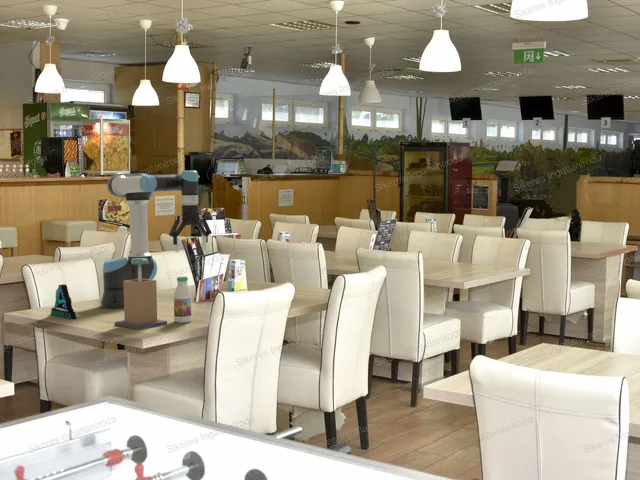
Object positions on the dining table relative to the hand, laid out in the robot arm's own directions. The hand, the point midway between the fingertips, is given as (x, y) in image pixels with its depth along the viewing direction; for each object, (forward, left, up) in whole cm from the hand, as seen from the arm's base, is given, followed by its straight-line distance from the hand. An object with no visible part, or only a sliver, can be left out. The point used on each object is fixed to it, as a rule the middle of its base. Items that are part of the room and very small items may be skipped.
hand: (190, 250), depth 409 cm
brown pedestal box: (0, -29, -30) cm, 42 cm away
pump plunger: (+1, -29, -20) cm, 35 cm away
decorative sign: (-44, -40, -30) cm, 67 cm away
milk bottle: (+8, -12, -30) cm, 34 cm away
